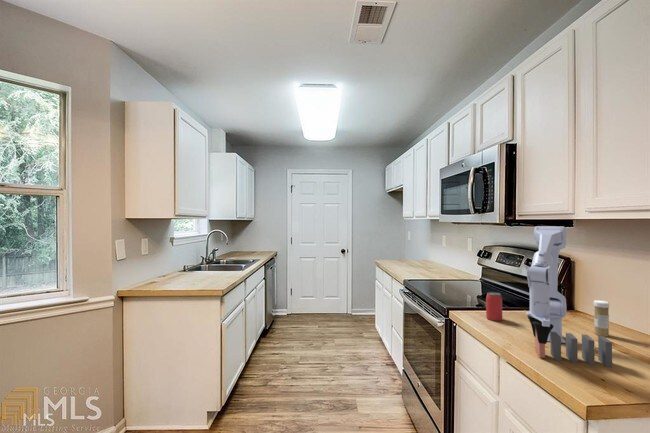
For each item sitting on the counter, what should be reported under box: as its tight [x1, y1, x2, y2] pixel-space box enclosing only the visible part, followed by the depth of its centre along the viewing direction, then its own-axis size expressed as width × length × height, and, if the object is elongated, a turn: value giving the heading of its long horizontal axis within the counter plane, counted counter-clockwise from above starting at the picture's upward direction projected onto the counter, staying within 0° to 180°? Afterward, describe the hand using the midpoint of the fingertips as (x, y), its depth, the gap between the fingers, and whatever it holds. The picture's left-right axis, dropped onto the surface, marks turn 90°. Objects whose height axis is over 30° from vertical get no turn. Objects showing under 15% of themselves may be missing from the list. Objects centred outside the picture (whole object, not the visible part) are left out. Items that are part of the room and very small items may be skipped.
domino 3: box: [581, 334, 596, 366], centre depth 103 cm, size 2×5×8 cm, turn 160°
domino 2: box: [565, 332, 579, 364], centre depth 104 cm, size 2×5×8 cm, turn 159°
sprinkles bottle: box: [593, 299, 610, 338], centre depth 124 cm, size 5×5×14 cm
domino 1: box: [549, 331, 562, 362], centre depth 106 cm, size 2×5×8 cm, turn 160°
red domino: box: [534, 329, 546, 359], centre depth 107 cm, size 2×5×8 cm, turn 160°
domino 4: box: [597, 335, 613, 368], centre depth 101 cm, size 2×5×8 cm, turn 160°
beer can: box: [485, 291, 503, 322], centre depth 144 cm, size 7×7×12 cm
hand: (540, 340), depth 107 cm, fingers closed on red domino, 5 cm apart
